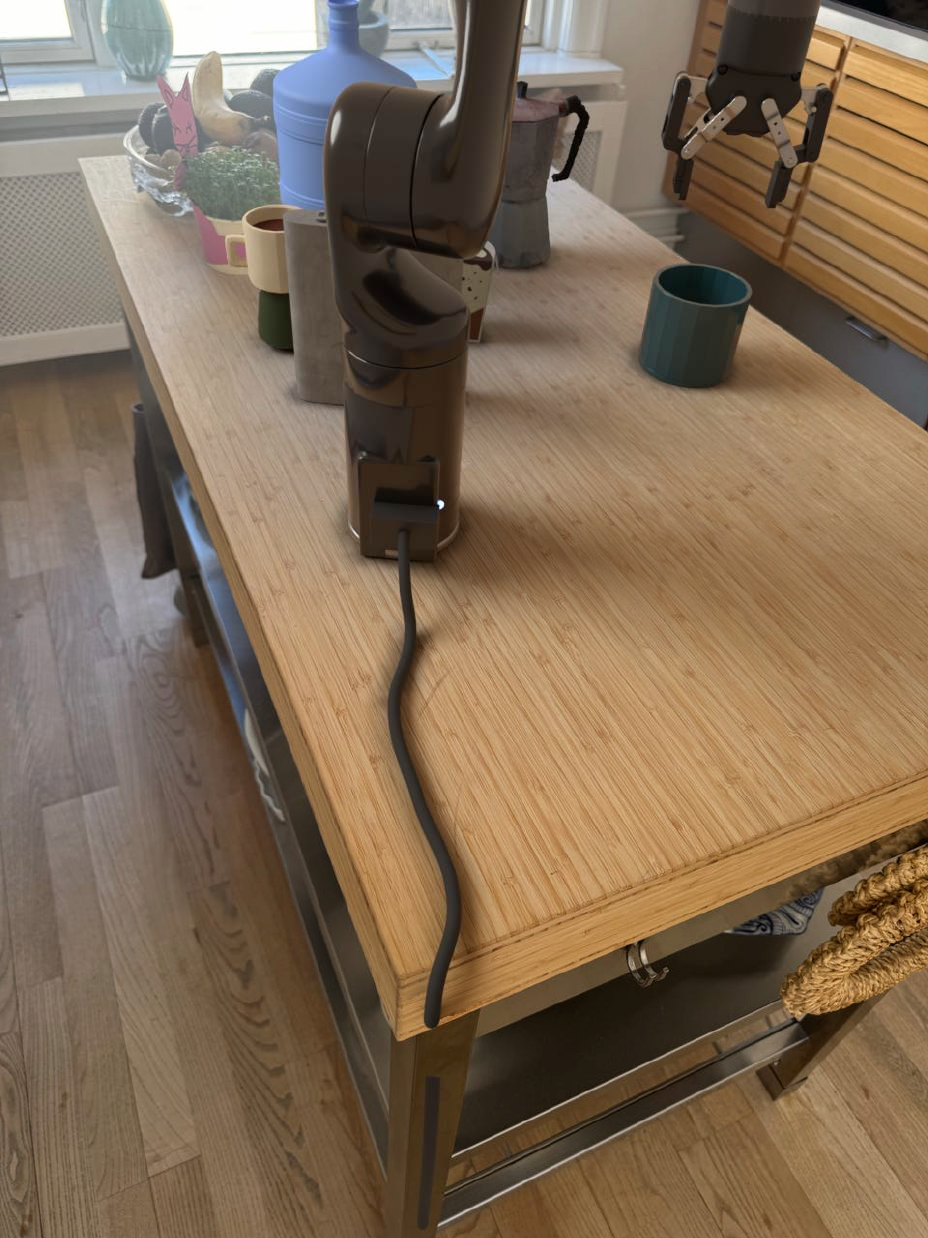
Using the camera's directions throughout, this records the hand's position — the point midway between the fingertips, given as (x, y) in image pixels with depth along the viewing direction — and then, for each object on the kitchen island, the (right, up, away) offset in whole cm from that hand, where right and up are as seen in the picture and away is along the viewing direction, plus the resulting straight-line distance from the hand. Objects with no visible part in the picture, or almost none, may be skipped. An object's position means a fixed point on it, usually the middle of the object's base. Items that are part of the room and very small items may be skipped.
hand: (725, 201), depth 89 cm
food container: (-28, -7, +16) cm, 33 cm away
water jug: (-39, +2, +24) cm, 46 cm away
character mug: (-44, -10, +11) cm, 47 cm away
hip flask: (-34, -18, +4) cm, 39 cm away
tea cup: (-1, -12, +12) cm, 17 cm away
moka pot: (-18, +7, +30) cm, 36 cm away
